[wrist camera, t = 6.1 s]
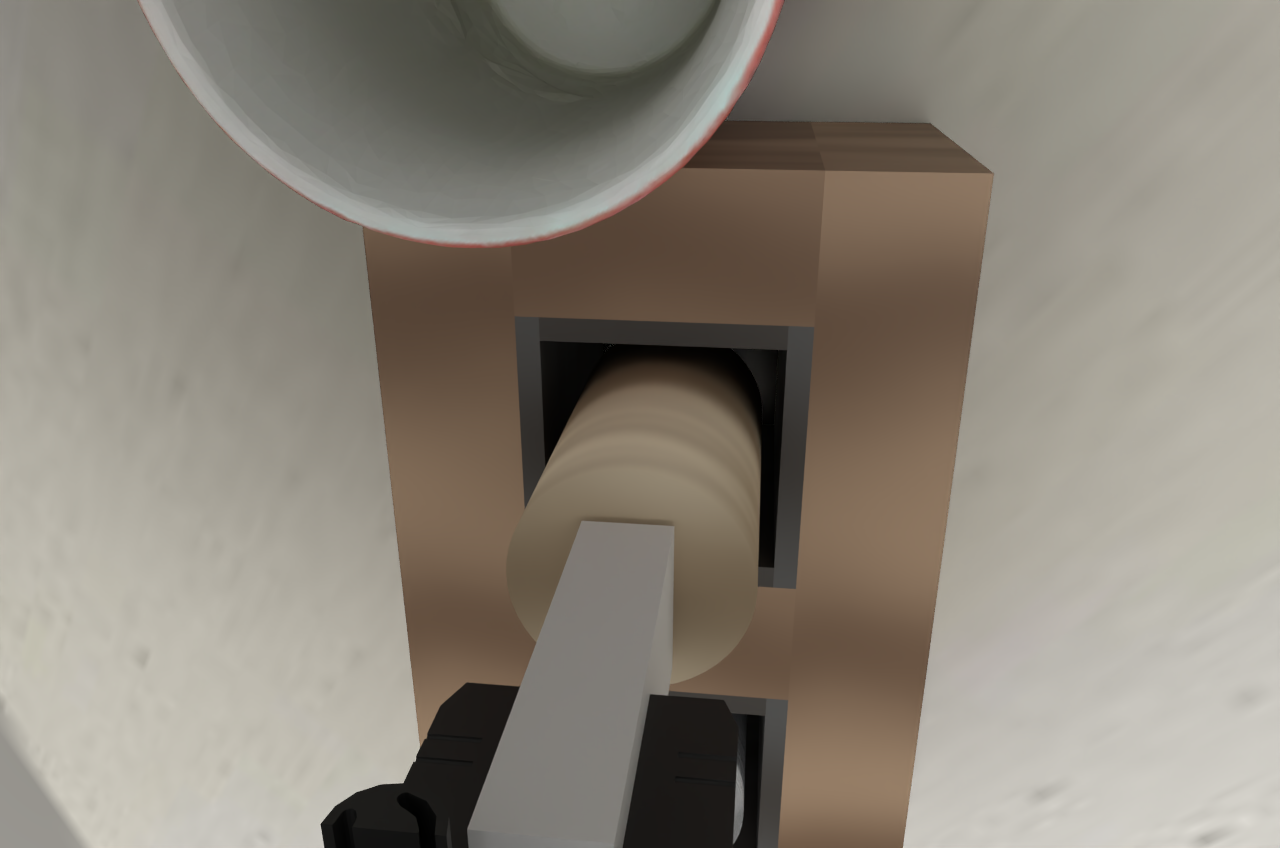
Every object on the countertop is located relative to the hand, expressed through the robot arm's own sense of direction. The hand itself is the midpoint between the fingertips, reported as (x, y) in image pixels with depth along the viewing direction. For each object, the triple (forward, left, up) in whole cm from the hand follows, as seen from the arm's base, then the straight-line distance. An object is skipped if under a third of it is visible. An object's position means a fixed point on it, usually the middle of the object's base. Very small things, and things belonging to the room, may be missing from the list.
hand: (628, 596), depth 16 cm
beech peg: (0, 0, -8) cm, 8 cm away
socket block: (+4, 0, -13) cm, 14 cm away
